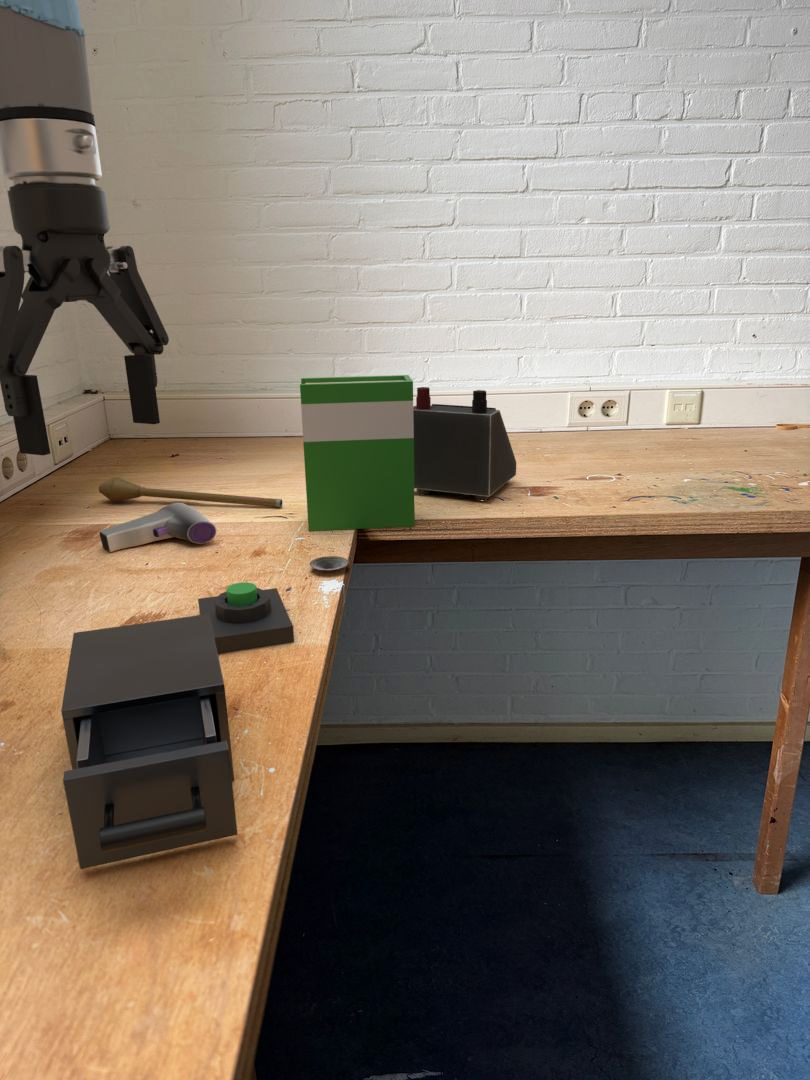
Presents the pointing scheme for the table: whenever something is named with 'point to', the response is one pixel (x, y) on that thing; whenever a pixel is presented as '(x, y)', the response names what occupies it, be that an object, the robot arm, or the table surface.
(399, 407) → the green cereal box
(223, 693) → the cabinet
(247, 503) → the panzerfaust
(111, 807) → the drawer
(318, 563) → the small grey dish
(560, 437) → the table surface
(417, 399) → the voltmeter
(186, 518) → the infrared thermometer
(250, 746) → the table surface
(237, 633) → the control block
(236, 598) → the button
